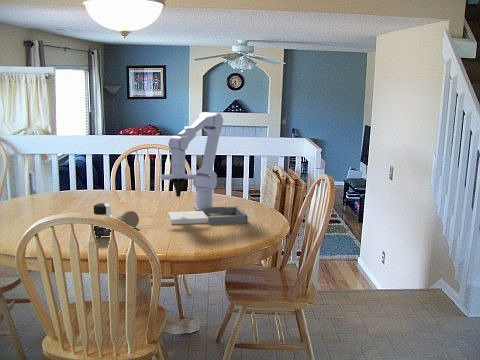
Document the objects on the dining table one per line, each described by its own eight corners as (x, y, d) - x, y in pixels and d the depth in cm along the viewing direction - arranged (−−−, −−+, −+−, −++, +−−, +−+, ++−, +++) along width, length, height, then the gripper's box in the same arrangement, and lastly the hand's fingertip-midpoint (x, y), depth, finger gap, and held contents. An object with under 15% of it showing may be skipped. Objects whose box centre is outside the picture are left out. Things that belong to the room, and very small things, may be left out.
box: (201, 213, 226) (201, 207, 226) (237, 212, 230) (237, 206, 230) (208, 224, 210) (208, 217, 210) (247, 222, 214) (247, 215, 214)
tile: (208, 218, 222) (208, 213, 221) (221, 216, 224) (221, 212, 224) (213, 221, 216) (214, 217, 216) (226, 220, 219) (226, 215, 218)
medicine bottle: (92, 238, 188) (91, 206, 185) (93, 233, 194) (92, 202, 192) (112, 237, 189) (112, 206, 187) (112, 232, 196) (111, 201, 194)
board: (168, 216, 220) (168, 212, 220) (202, 215, 224) (202, 210, 224) (171, 224, 209) (171, 219, 209) (207, 222, 213) (207, 218, 212)
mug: (124, 223, 210) (134, 204, 206) (133, 238, 204) (144, 219, 200) (108, 221, 205) (118, 202, 201) (117, 237, 198) (128, 217, 195)
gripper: (161, 166, 210) (162, 198, 212) (196, 166, 213) (196, 197, 216) (160, 163, 216) (160, 195, 219) (194, 163, 220) (193, 194, 222)
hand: (178, 196), depth 218 cm, fingers closed
